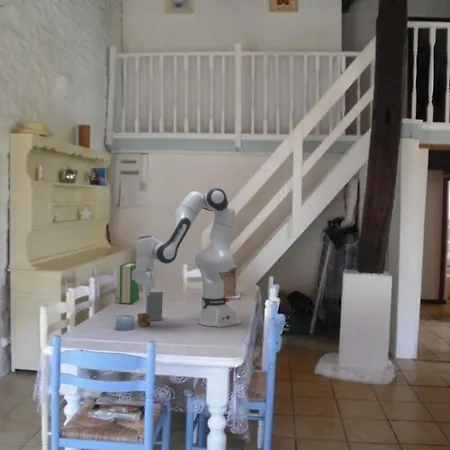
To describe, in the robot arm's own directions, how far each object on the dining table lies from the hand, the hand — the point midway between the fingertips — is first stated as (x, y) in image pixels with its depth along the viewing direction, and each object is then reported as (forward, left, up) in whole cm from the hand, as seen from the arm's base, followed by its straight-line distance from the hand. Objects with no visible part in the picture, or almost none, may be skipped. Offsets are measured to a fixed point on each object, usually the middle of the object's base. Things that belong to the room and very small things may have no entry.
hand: (144, 293), depth 281 cm
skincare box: (-10, -11, -17) cm, 23 cm away
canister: (+11, +2, -17) cm, 20 cm away
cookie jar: (-79, -59, -17) cm, 100 cm away
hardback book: (-14, -63, -17) cm, 67 cm away
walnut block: (0, 0, -17) cm, 17 cm away
